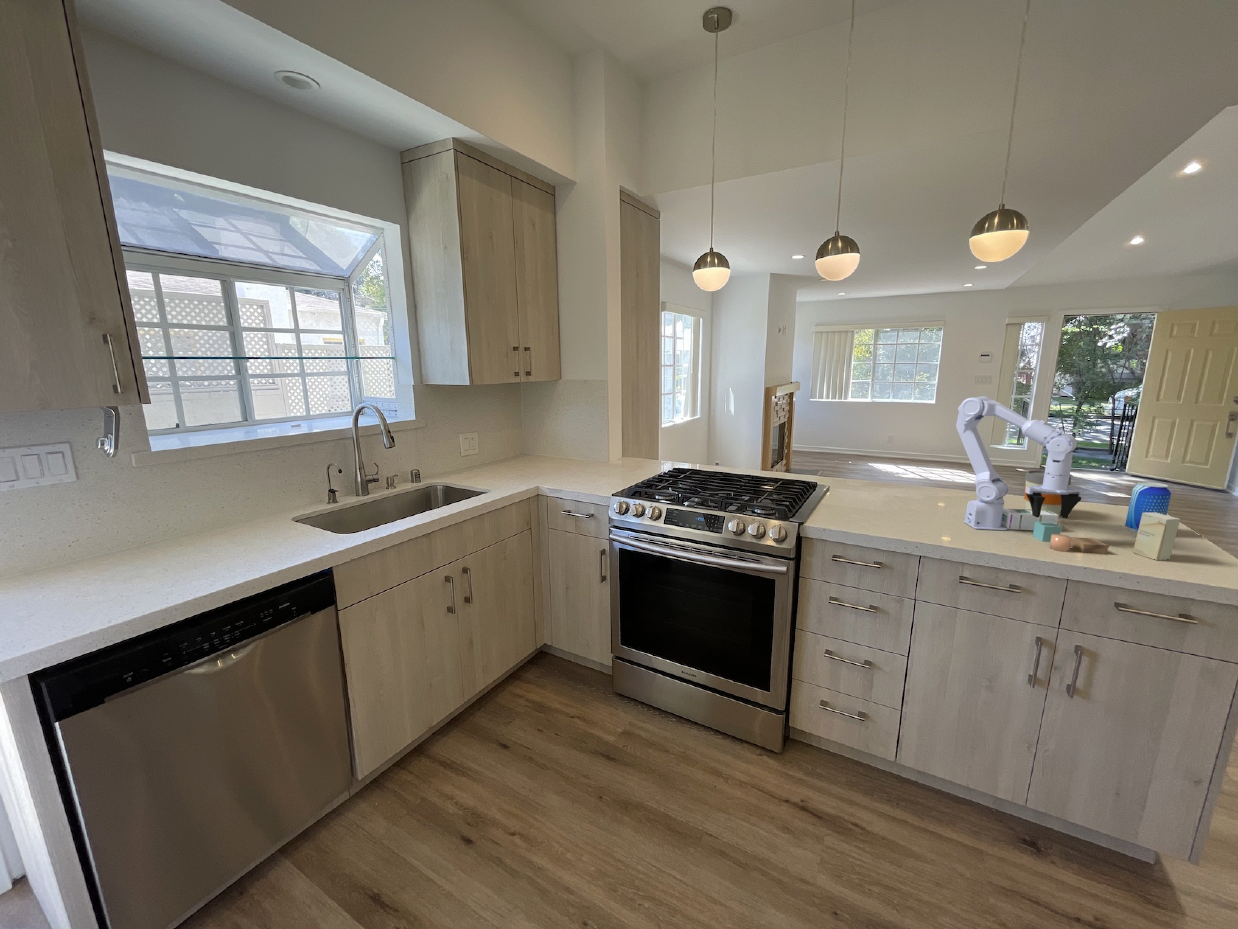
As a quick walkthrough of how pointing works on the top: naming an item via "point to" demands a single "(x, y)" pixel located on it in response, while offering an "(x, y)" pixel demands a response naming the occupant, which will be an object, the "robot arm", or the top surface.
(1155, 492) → the beer can
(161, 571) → the top surface
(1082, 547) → the walnut block
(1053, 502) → the reusable coffee cup
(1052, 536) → the peach round piece
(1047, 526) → the teal block
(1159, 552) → the skincare box
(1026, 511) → the syrup box
